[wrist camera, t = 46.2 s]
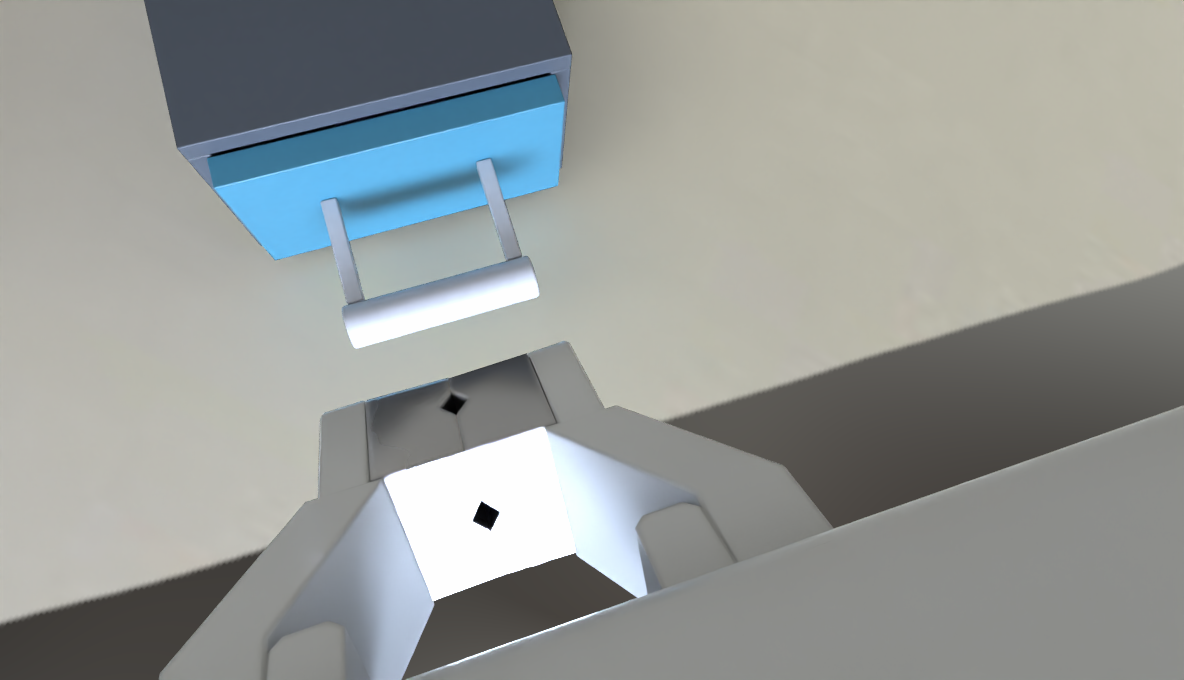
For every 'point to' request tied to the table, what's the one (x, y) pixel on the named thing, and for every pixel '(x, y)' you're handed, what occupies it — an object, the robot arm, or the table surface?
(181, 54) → the drawer cabinet
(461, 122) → the blue drawer
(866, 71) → the table surface
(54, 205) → the table surface
